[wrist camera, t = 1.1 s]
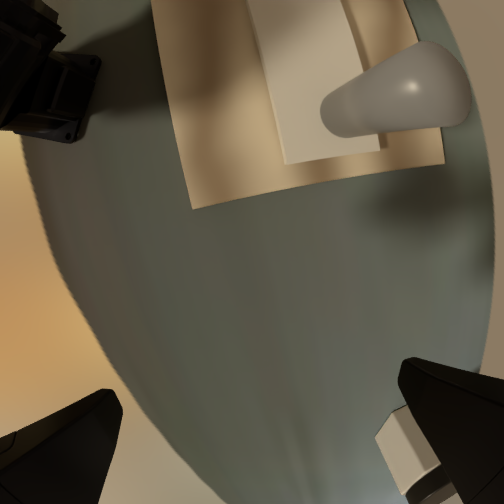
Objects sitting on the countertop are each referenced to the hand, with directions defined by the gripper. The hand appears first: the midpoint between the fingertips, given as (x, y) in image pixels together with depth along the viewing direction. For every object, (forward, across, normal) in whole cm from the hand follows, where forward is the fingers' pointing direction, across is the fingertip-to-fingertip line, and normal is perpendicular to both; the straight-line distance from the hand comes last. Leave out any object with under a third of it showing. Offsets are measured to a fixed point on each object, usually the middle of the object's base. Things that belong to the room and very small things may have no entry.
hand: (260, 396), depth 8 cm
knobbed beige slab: (+12, +5, +16) cm, 21 cm away
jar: (+13, +17, -23) cm, 32 cm away
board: (+13, +5, +17) cm, 22 cm away
